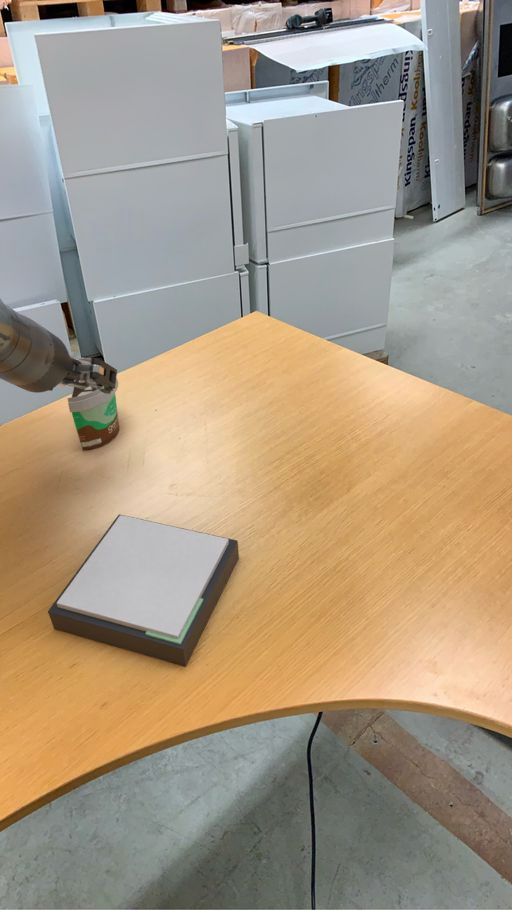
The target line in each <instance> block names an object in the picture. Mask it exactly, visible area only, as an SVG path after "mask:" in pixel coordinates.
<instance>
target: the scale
mask: <svg viewBox="0 0 512 910" xmlns="http://www.w3.org/2000/svg"><path fill="white" fill-rule="evenodd" d="M239 559H240V553H239V542H238V540H237V539H233V538H228V537H224V536H220V535H219V536H218V535H214V534H210V533H206V532H201V531H196V530H192V529H187V528H184V527H183V528H182V527H178V526H174V525H170V524H164V523H160V522H156V521H152V520H147V519H143V518H138V517H133V516H130V515H124V514H117V516H116V517H115V519H114V520H113V521H112V523H111V524H110V526H109V527H108V528H107V530H106V531H105V532H104V534H103V535H102V537H101V538H100V539H99V541H98V542H97V543H96V545H95V546H94V548H93V549H92V550H91V551H90V553H89V554H88V556H87V557H86V558H85V559H84V560H83V563H82V564H81V565H80V566H79V568H78V569H77V571H76V572H75V574H74V575H73V576H72V578H71V579H70V580H69V582H68V583H67V584H66V586H65V587H64V588H63V590H62V591H61V593H60V594H59V595H58V597H57V598H56V599H55V601H54V602H53V604H52V605H51V606H50V608H49V609H48V611H47V614H48V616H49V618H50V622H51V625H52V627H53V629H54V630H57V631H61V632H64V633H68V634H71V635H75V636H77V637H81V638H86V639H88V640H92V641H95V642H99V643H102V644H106V645H110V646H113V647H117V648H120V649H124V650H127V651H130V652H133V653H138V654H142V655H145V656H147V657H151V658H154V659H159V660H161V661H165V662H168V663H173V664H176V665H179V666H183V667H187V665H188V663H189V661H190V659H191V657H192V654H193V652H194V650H195V648H196V647H197V645H198V643H199V641H200V638H201V637H202V634H203V632H204V630H205V628H206V626H207V624H208V623H209V621H210V618H211V616H212V614H213V611H214V610H215V608H216V606H217V604H218V601H219V599H220V597H221V596H222V593H223V591H224V589H225V588H226V586H227V584H228V581H229V579H230V577H231V575H232V574H233V571H234V569H235V567H236V565H237V563H238V560H239Z"/></svg>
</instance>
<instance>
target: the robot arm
mask: <svg viewBox="0 0 512 910" xmlns="http://www.w3.org/2000/svg"><path fill="white" fill-rule="evenodd" d="M80 375H81V378H80V382H76V381H75V380H76V379H77V378H79V377H80ZM117 376H118V369H116V367H114V366H112V365H110V364H109V363H107V362H105V361H104V360H102V359H101V358H98V357H91V363H90V362H88V361H84V360H80V359H79V358H76V357H73V356H72V354H70V353H69V350H68V348H67V347H66V345H65V343H64V342H63V340H61V338H59V337H58V336H57V335H55V334H54V333H53V332H52V331H49V330H48V329H46V328H45V327H43V326H42V325H41V324H40V323H38V322H36V321H35V320H33V319H32V318H30V317H28V316H26V315H23V314H22V313H19V312H17V310H15V309H13V308H11V307H10V306H8V305H7V304H6V303H4V301H3V300H2V298H0V380H2V381H4V382H6V383H9V384H11V385H14V386H16V387H18V388H20V389H22V390H24V391H26V392H30V393H38V394H39V393H45V392H48V391H51V392H52V391H53V390H54V388H55V387H57V386H58V387H59V386H60V387H65V386H68V387H72V388H74V387H76V388H81V389H84V388H88V387H93V388H96V389H98V390H100V391H101V392H103V393H105V394H110V393H111V391H113V389H115V386H116V378H117ZM90 380H91V381H95V382H91V381H90Z"/></svg>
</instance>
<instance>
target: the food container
mask: <svg viewBox="0 0 512 910" xmlns="http://www.w3.org/2000/svg"><path fill="white" fill-rule="evenodd" d="M78 359H80V360H84V361H88V362H90V363H91V359H92V357H91V358H90V357H78ZM80 378H81V375H80V377H79V378H77V379H76V380H75V381H76V382H80ZM90 381H91V380H90ZM91 382H95V381H91ZM118 388H119V380H118V378H117V377H116V386H115V389H113V391H111V393H110V394H105V393H103V392H101V391H100V390H98V389H96V388H93V387H88V388H84V389H81V388H76V387H73V390H72V393H71V394H72V395H71V397H67V399H66V400H67V405H68V410H69V413H71V415H72V419H73V422H74V427H75V429H76V432H77V435H78V439H79V442H80V445H81V449H82V452H84V451H85V452H86V451H91V450H96V449H98V448H101V447H103V446H106V445H108V444H110V443H111V442H112V441H113V440H115V439H116V438H117V436H118V434H119V432H120V423H119V415H118V405H117V398H116V392H117V391H118Z"/></svg>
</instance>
